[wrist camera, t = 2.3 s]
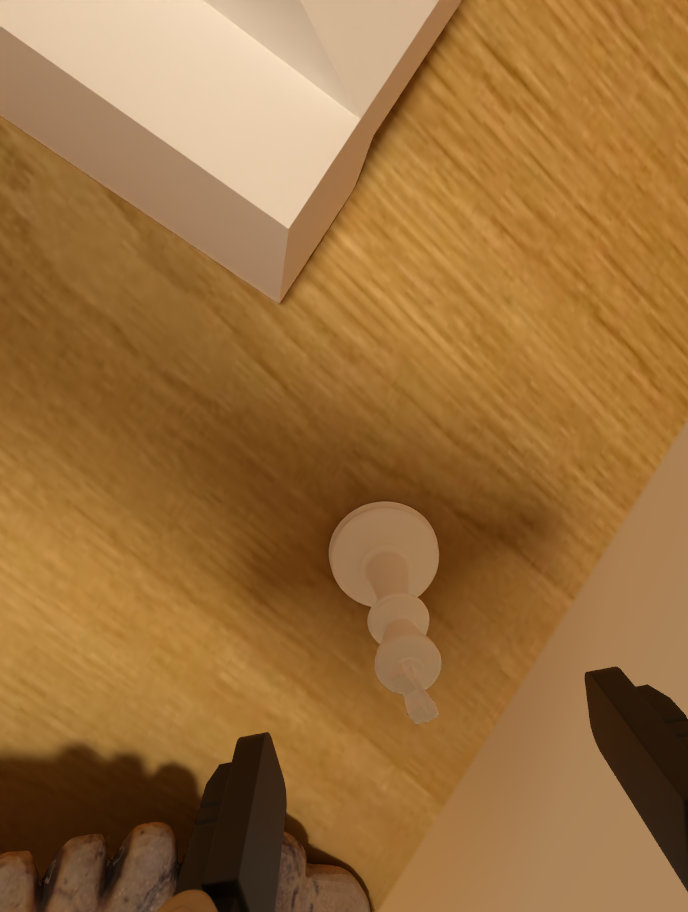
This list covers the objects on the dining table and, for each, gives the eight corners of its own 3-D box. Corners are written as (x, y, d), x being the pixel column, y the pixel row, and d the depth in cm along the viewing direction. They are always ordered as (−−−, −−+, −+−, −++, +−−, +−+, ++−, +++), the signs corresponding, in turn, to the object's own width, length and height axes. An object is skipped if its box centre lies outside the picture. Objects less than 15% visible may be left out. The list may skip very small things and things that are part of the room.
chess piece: (396, 479, 22) (444, 595, 12) (459, 562, 23) (548, 730, 13) (306, 542, 23) (285, 700, 13) (371, 621, 24) (395, 821, 14)
